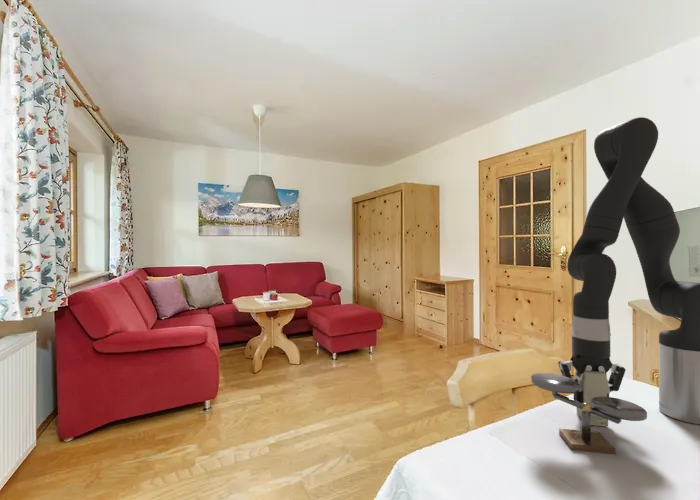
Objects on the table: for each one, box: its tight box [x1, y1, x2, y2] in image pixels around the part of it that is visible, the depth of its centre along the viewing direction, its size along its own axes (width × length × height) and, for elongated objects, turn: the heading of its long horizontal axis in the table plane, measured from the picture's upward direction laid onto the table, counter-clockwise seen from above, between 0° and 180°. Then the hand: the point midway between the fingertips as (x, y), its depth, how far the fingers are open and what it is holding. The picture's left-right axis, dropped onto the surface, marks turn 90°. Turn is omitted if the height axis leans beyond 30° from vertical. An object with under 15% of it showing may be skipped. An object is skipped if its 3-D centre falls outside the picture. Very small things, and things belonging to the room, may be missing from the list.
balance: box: [530, 372, 648, 455], centre depth 70 cm, size 21×9×13 cm, turn 79°
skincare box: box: [574, 368, 609, 427], centre depth 80 cm, size 6×4×12 cm
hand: (591, 405), depth 80 cm, fingers closed on skincare box, 4 cm apart
